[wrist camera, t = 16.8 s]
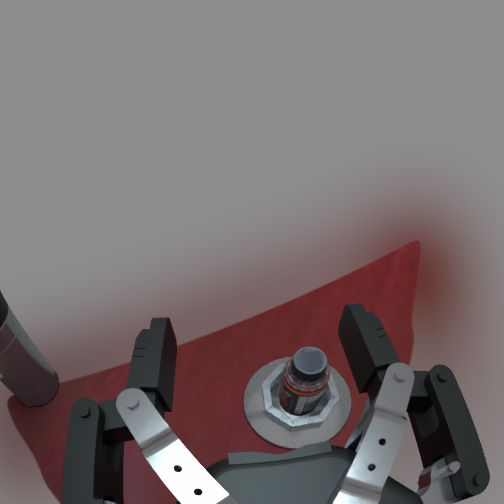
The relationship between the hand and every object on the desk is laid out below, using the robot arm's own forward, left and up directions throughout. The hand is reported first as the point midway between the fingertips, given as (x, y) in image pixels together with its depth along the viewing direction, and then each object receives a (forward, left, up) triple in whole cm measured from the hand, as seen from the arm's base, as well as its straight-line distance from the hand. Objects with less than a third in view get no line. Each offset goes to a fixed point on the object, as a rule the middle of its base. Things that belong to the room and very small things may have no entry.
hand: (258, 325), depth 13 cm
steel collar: (+12, +2, -30) cm, 32 cm away
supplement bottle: (+12, +2, -29) cm, 31 cm away
